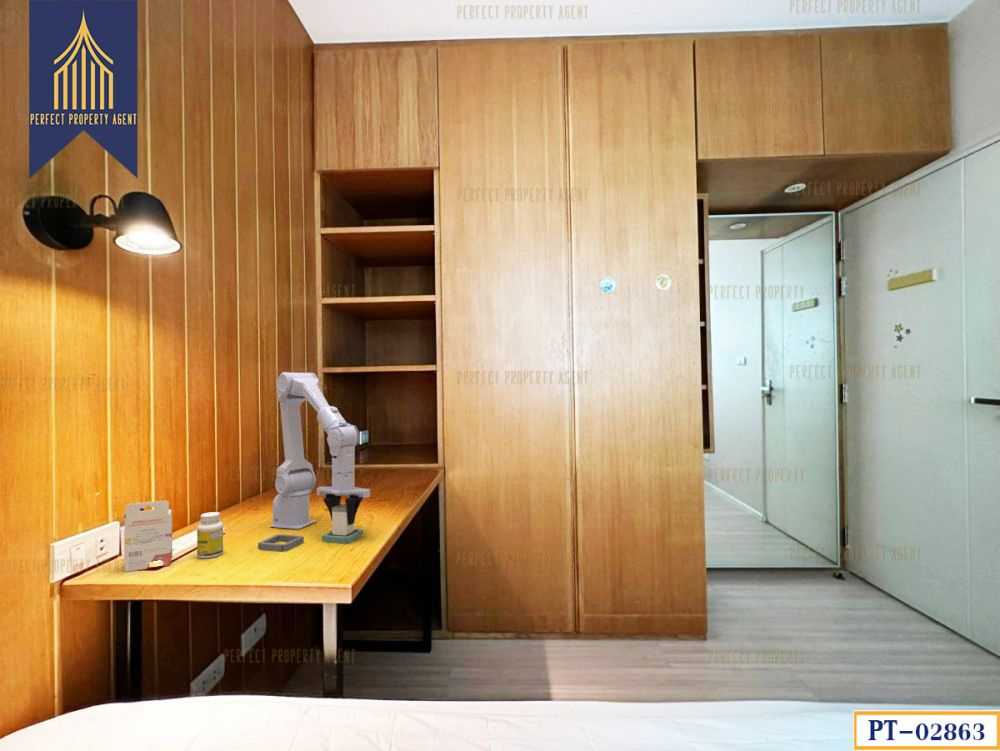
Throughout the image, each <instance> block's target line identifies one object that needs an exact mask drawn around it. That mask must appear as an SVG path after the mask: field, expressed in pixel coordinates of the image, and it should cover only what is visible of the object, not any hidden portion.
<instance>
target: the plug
mask: <svg viewBox="0 0 1000 751" xmlns="http://www.w3.org/2000/svg"><path fill="white" fill-rule="evenodd" d="M331 524H332V525H331V526H332V527H331V531H332V534H333V535H337V536H349V535H348V534H350V533H351V532H353V531H354V529H355V522H354V523H353V524H351V525H348V520H347V507H346V503H340V504H339V505H337V506H335V507H332V519H331Z"/></svg>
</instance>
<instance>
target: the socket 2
mask: <svg viewBox="0 0 1000 751" xmlns="http://www.w3.org/2000/svg"><path fill="white" fill-rule="evenodd" d="M364 532H365V530H364V529H361V528H354V531H353V532H351V533H350V534H349V535H347V536H345V535H337V536H336V535H333V534H332V530H330V531H327V532H326V533H324V534H322V536H321V541H322V542H324V543H329V542H336V543H335V544H342V543H346V544H352V543H353V542H355V541H356V539H357V538H358V539H360V538H361V536H362V535H363V536H364ZM363 536H362V537H363ZM359 537H360V538H359ZM358 539H357V540H358ZM354 540H355V541H354ZM352 541H353V542H352ZM351 542H352V543H351Z"/></svg>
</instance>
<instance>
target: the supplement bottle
mask: <svg viewBox="0 0 1000 751" xmlns="http://www.w3.org/2000/svg"><path fill="white" fill-rule="evenodd" d="M220 519H221V514H220V512H218V511H212V512H209V511H208V512H205V513H202V514H201V515H200V522H201V523H199V524H198V525H197V529H196V532H197V533H196V536H197V540H196V541H197V543H196V548H197V549H196V550H197V551H196V552H197V553H196V554H197V555H196V556H197V557H198V558H200V559H211V558H216V557H219V556H220V555H222V554H223V553H224V524H223V522H222V521H221V520H220Z"/></svg>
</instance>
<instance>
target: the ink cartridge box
mask: <svg viewBox="0 0 1000 751" xmlns="http://www.w3.org/2000/svg"><path fill="white" fill-rule="evenodd" d="M147 507H149V508H154V509H146V510H141V509H144V508H147ZM169 507H170V502H169V500H157V501H146V502H136V503H127V504H126V505H125V518H124V520H123V521H124V522H123V524H124V572H125V573H127V572H133V571H142V570H149V569H150V568H149V566H148V564H149V563H150V562H153V561H158V560H161V561H163V563H164V564H163V567H168V566H170V565H171V563H172V561H171V558H172V559H173V517H172V516H173V514H172V513H173V510H172V509H170V508H169ZM148 568H149V569H148Z"/></svg>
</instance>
